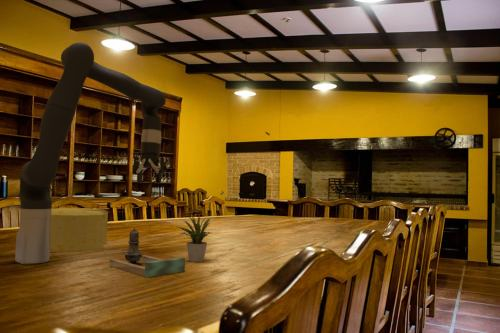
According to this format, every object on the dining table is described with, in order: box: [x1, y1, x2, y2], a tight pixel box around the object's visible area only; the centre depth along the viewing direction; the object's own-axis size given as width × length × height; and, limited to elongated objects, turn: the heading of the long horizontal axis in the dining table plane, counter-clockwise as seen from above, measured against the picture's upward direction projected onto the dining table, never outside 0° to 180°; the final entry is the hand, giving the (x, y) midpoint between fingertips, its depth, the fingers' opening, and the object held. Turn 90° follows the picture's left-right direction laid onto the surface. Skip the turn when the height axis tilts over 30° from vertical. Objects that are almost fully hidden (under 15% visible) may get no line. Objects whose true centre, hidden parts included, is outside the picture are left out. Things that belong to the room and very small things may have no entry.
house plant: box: [176, 214, 212, 263], centre depth 149 cm, size 14×14×16 cm
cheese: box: [50, 207, 109, 253], centre depth 171 cm, size 26×26×15 cm
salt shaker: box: [123, 227, 143, 266], centre depth 137 cm, size 6×6×12 cm
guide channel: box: [109, 254, 186, 278], centre depth 132 cm, size 13×22×4 cm, turn 47°
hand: (148, 183), depth 164 cm, fingers open, 8 cm apart
